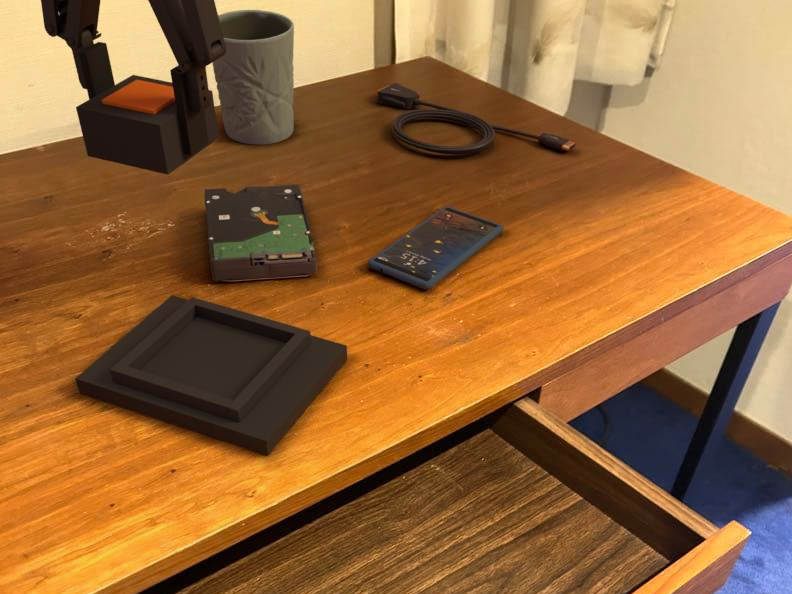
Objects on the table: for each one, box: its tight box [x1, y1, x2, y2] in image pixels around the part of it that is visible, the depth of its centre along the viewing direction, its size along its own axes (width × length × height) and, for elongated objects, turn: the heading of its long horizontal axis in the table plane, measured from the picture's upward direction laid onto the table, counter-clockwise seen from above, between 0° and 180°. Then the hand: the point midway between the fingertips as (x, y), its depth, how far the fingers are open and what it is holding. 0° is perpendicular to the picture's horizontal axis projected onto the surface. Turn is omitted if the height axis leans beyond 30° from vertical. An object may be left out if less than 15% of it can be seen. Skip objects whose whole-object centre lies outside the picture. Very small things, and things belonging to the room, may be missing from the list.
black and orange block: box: [75, 74, 219, 175], centre depth 72 cm, size 8×8×4 cm
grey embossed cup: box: [212, 9, 295, 146], centre depth 103 cm, size 10×10×12 cm
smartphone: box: [367, 205, 504, 290], centre depth 88 cm, size 8×1×15 cm
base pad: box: [74, 294, 348, 456], centre depth 72 cm, size 18×14×3 cm
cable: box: [376, 82, 576, 155], centre depth 107 cm, size 14×28×2 cm, turn 55°
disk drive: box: [203, 184, 318, 283], centre depth 88 cm, size 10×3×15 cm
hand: (152, 138), depth 73 cm, fingers closed on black and orange block, 8 cm apart
